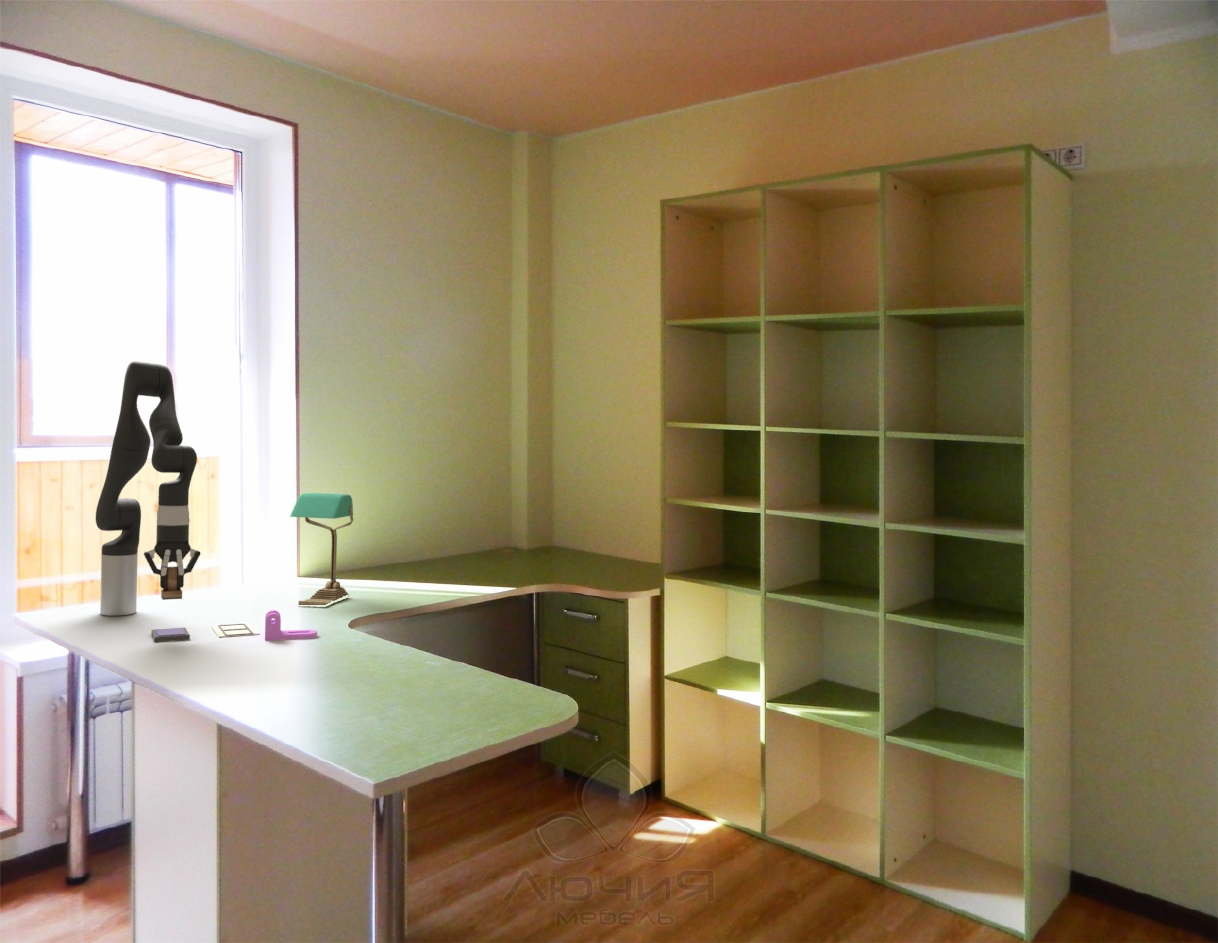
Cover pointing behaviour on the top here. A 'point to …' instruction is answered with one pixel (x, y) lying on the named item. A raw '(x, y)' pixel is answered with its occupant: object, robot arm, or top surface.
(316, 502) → the banker's lamp
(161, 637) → the ink pad
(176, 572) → the stamp
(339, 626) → the top surface
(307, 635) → the bracket
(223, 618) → the top surface
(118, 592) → the robot arm
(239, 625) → the sheet
